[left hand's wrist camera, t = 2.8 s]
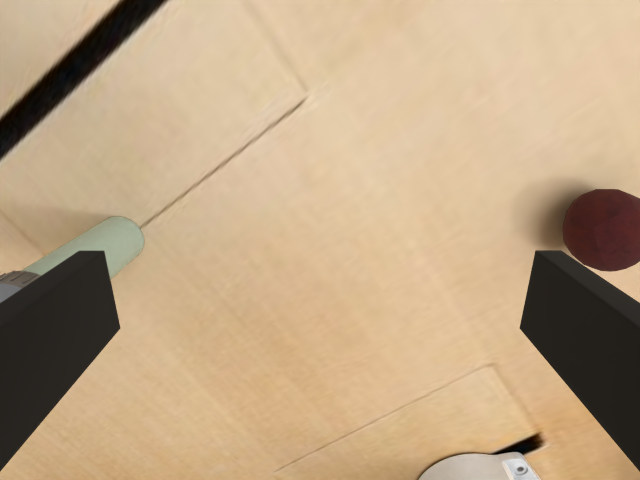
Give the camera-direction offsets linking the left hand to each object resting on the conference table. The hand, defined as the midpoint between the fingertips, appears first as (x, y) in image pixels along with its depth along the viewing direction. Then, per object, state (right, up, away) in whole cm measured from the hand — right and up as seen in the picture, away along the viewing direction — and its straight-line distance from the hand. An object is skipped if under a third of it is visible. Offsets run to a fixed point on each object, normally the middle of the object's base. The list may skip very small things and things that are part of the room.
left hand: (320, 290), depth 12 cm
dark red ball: (+27, +4, +28) cm, 39 cm away
